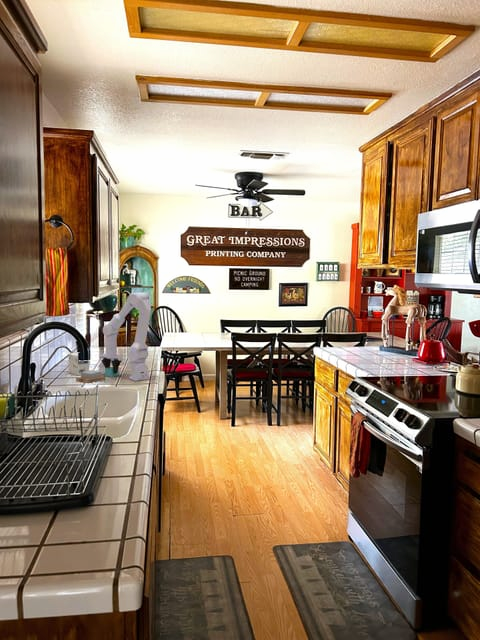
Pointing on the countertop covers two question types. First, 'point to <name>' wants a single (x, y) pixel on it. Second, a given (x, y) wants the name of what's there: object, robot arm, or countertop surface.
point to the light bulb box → (77, 364)
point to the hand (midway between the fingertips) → (111, 372)
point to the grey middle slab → (91, 374)
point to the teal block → (110, 372)
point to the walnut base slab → (86, 380)
